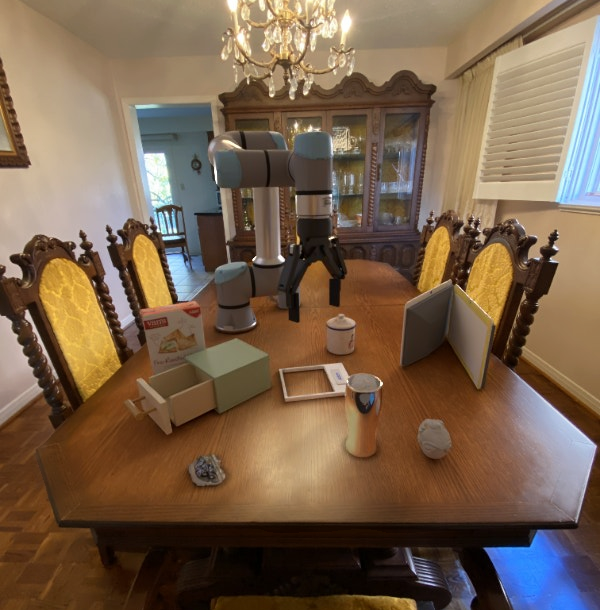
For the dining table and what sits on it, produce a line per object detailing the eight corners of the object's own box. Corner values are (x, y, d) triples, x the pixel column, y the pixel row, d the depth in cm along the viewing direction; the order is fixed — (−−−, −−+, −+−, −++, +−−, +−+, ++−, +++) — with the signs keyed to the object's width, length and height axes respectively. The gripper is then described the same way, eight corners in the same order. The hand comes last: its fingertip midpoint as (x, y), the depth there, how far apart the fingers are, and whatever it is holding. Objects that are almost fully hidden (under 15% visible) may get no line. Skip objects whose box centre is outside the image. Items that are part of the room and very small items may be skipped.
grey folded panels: (495, 391, 86) (510, 318, 79) (405, 388, 88) (412, 317, 81) (452, 334, 118) (461, 278, 111) (387, 333, 120) (392, 278, 113)
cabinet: (219, 414, 80) (214, 378, 77) (189, 389, 90) (184, 357, 87) (271, 387, 90) (269, 354, 87) (239, 368, 100) (236, 338, 97)
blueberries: (210, 451, 69) (209, 444, 68) (237, 470, 64) (236, 462, 63) (180, 472, 64) (179, 464, 63) (207, 494, 59) (205, 486, 59)
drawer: (146, 445, 70) (138, 413, 67) (123, 416, 79) (115, 387, 76) (226, 405, 82) (222, 376, 79) (198, 384, 91) (194, 357, 88)
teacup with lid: (354, 356, 105) (356, 320, 101) (324, 354, 106) (325, 319, 102) (355, 339, 116) (356, 307, 112) (328, 338, 118) (328, 306, 113)
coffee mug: (299, 300, 156) (298, 279, 152) (301, 308, 147) (300, 285, 143) (269, 302, 155) (268, 280, 151) (269, 310, 145) (268, 287, 142)
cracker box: (156, 390, 90) (141, 315, 82) (154, 380, 95) (139, 308, 87) (210, 376, 96) (200, 305, 88) (205, 367, 101) (195, 299, 93)
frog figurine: (440, 440, 70) (444, 412, 68) (455, 467, 64) (461, 436, 61) (410, 442, 70) (413, 413, 68) (423, 468, 64) (427, 438, 61)
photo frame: (357, 390, 86) (285, 397, 83) (356, 393, 86) (285, 401, 84) (341, 362, 99) (279, 368, 97) (341, 365, 100) (279, 371, 97)
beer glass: (340, 436, 72) (341, 373, 67) (372, 433, 73) (377, 371, 67) (347, 460, 66) (349, 393, 60) (383, 457, 66) (388, 391, 61)
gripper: (281, 223, 61) (286, 333, 69) (364, 213, 77) (361, 303, 85) (255, 221, 66) (262, 324, 74) (338, 212, 82) (337, 297, 90)
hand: (315, 313), depth 79 cm, fingers open, 13 cm apart
